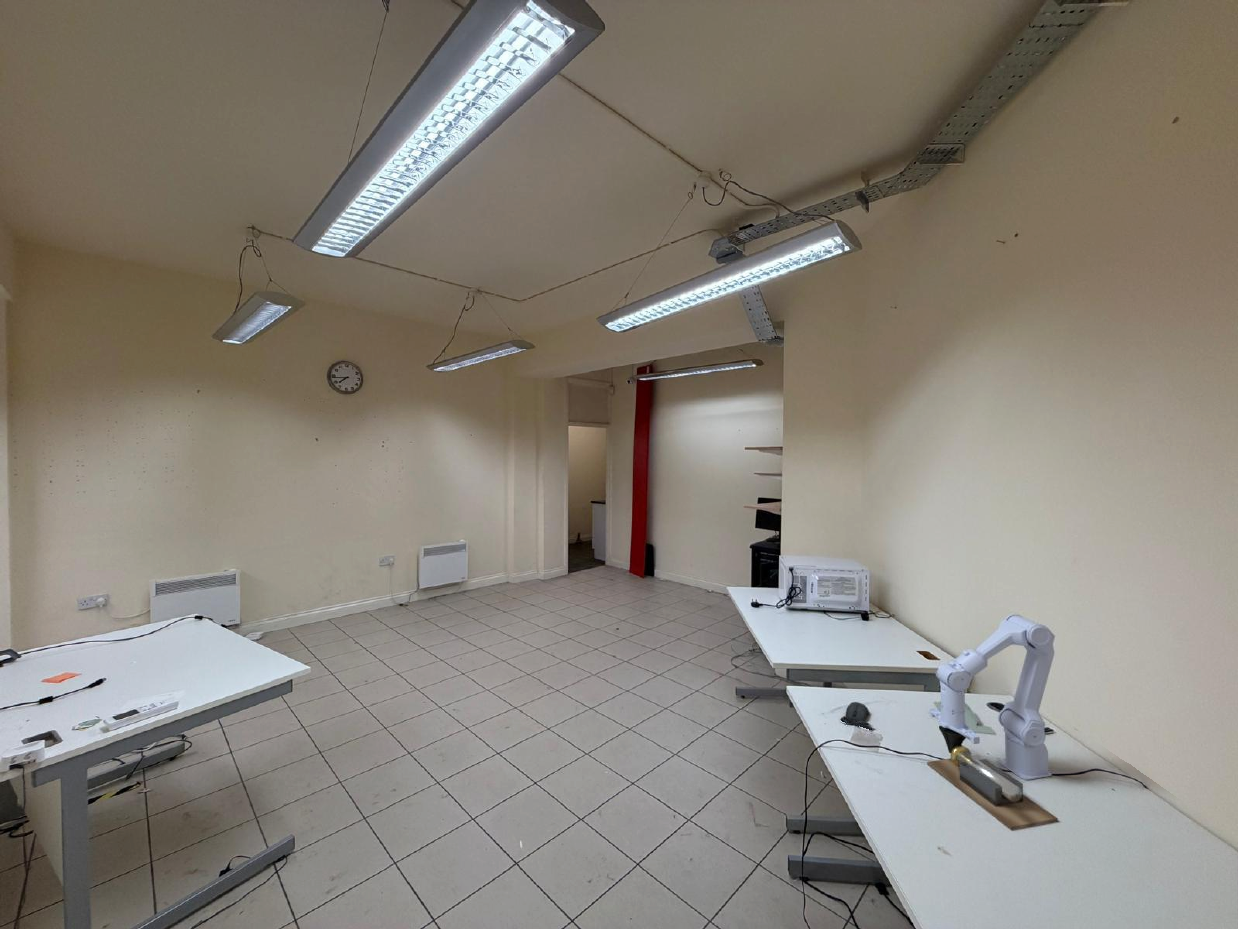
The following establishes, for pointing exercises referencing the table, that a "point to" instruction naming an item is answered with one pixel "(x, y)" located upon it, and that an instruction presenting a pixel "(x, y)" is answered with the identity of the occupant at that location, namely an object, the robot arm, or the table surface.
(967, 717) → the metal bracket
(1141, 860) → the table surface
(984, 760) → the bearing block
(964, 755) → the shaft
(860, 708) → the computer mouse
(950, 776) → the base board
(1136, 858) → the table surface
